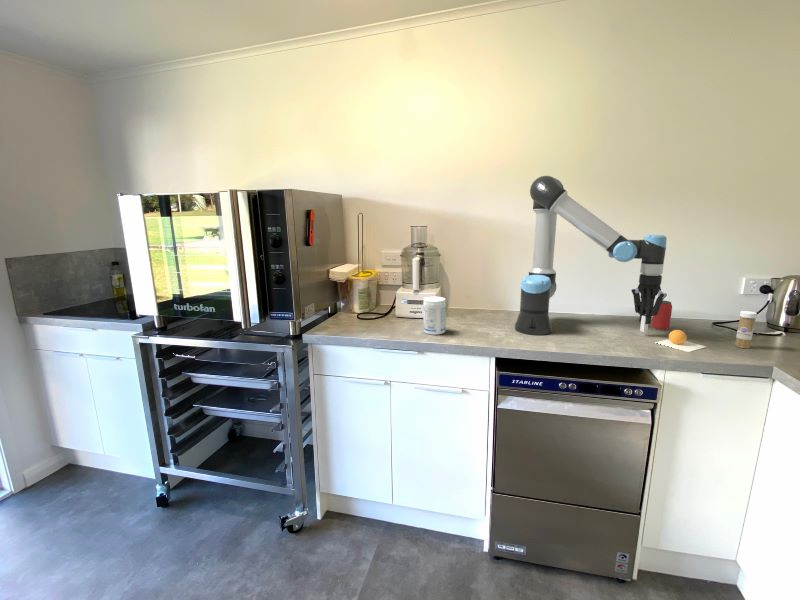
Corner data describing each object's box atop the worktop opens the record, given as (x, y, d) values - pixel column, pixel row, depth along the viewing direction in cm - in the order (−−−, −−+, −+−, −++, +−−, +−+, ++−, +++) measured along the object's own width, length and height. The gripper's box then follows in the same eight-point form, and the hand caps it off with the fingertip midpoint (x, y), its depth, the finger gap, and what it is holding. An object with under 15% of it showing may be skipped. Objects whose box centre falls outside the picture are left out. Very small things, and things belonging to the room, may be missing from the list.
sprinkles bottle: (734, 347, 144) (740, 312, 141) (734, 344, 147) (740, 309, 145) (750, 349, 141) (757, 314, 138) (750, 346, 144) (756, 311, 142)
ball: (672, 348, 147) (662, 336, 150) (681, 345, 149) (670, 334, 152) (684, 340, 143) (673, 328, 146) (692, 337, 145) (682, 326, 148)
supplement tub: (439, 328, 172) (440, 295, 169) (449, 333, 163) (450, 299, 160) (419, 330, 169) (419, 297, 166) (428, 336, 160) (428, 301, 157)
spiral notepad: (654, 343, 149) (654, 342, 149) (672, 338, 155) (672, 338, 155) (688, 352, 139) (688, 351, 139) (706, 347, 144) (706, 346, 144)
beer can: (672, 330, 165) (675, 303, 163) (655, 330, 167) (658, 302, 164) (665, 326, 172) (668, 300, 169) (648, 325, 173) (652, 299, 170)
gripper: (673, 275, 150) (665, 333, 155) (640, 271, 161) (633, 326, 166) (662, 276, 146) (654, 336, 151) (629, 272, 158) (622, 328, 163)
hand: (643, 331), depth 159 cm, fingers closed
